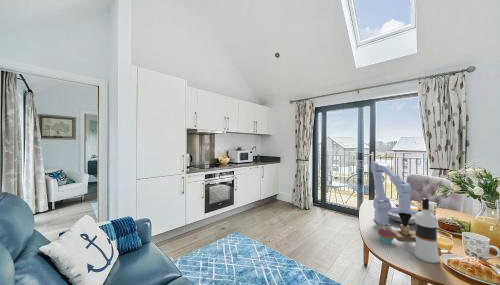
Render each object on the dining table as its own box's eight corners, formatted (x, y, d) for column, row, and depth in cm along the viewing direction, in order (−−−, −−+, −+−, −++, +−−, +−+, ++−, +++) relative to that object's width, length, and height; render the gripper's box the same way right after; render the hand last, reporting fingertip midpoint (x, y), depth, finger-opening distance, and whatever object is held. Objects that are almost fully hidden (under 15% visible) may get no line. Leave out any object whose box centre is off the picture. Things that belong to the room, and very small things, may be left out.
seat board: (390, 232, 124) (390, 229, 124) (421, 234, 121) (421, 231, 121) (398, 239, 115) (398, 236, 115) (433, 242, 112) (432, 238, 112)
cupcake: (387, 246, 108) (387, 225, 108) (374, 239, 116) (373, 219, 116) (399, 244, 110) (398, 223, 110) (385, 237, 119) (384, 217, 119)
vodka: (413, 258, 97) (412, 198, 97) (414, 251, 103) (413, 194, 103) (439, 266, 90) (438, 202, 90) (439, 257, 97) (438, 198, 97)
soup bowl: (408, 215, 152) (408, 207, 152) (434, 229, 128) (434, 219, 128) (376, 214, 155) (376, 206, 155) (396, 228, 131) (396, 218, 131)
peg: (399, 235, 121) (398, 223, 121) (407, 235, 120) (406, 224, 120) (402, 238, 117) (402, 226, 117) (411, 239, 116) (411, 227, 116)
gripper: (395, 204, 116) (395, 227, 116) (422, 205, 113) (422, 228, 113) (388, 201, 123) (389, 222, 123) (414, 202, 120) (414, 223, 120)
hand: (404, 225), depth 119 cm, fingers closed
